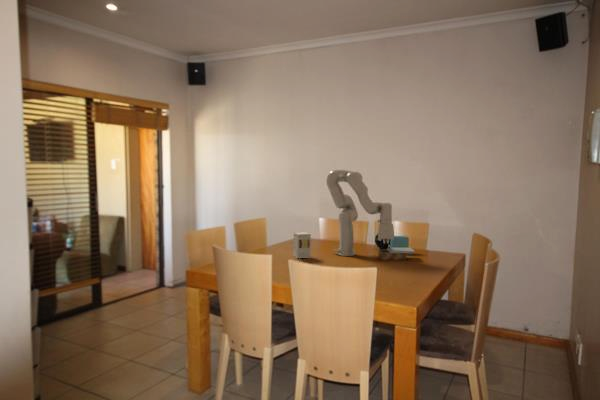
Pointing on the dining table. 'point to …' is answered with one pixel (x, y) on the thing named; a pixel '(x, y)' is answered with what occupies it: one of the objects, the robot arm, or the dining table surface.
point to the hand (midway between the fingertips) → (385, 249)
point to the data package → (400, 242)
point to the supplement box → (302, 245)
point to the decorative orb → (380, 243)
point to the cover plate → (400, 250)
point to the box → (391, 255)
